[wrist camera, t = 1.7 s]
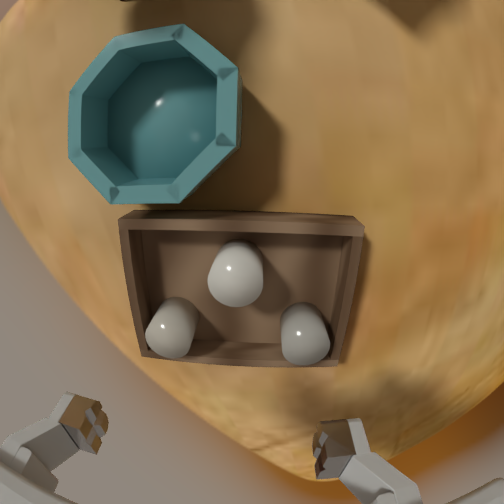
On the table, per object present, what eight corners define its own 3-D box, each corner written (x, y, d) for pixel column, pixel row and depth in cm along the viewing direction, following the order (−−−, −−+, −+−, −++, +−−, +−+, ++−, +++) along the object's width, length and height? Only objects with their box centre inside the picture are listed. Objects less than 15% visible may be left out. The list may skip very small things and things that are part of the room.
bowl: (244, 43, 18) (239, 19, 13) (240, 191, 22) (235, 204, 18) (104, 61, 18) (74, 48, 14) (102, 194, 22) (71, 206, 18)
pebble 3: (324, 302, 25) (333, 328, 21) (318, 336, 26) (325, 365, 22) (281, 301, 25) (284, 328, 21) (278, 336, 26) (280, 365, 22)
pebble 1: (197, 297, 25) (187, 323, 21) (200, 332, 26) (192, 360, 22) (157, 295, 25) (141, 319, 21) (162, 329, 26) (149, 355, 23)
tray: (352, 216, 22) (364, 225, 20) (331, 346, 27) (337, 366, 24) (133, 210, 23) (117, 219, 20) (151, 337, 27) (141, 356, 25)
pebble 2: (263, 239, 23) (264, 258, 19) (262, 283, 24) (262, 308, 20) (215, 237, 23) (206, 256, 19) (216, 281, 24) (208, 305, 21)
